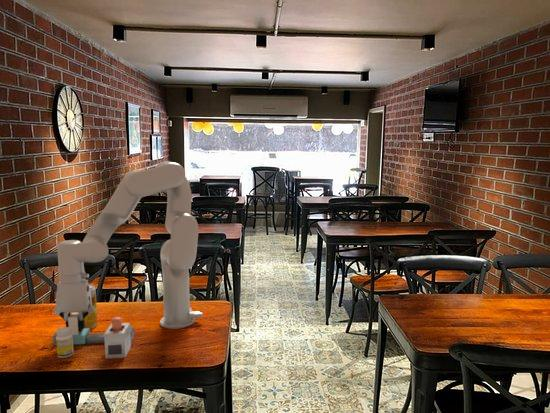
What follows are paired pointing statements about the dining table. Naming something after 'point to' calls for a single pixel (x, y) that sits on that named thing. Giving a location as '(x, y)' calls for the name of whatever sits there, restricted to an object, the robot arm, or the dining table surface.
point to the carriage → (73, 324)
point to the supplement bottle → (64, 342)
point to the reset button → (117, 324)
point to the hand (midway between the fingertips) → (75, 330)
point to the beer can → (92, 317)
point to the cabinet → (117, 342)
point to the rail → (95, 337)
